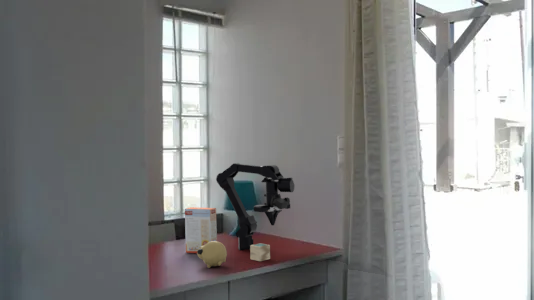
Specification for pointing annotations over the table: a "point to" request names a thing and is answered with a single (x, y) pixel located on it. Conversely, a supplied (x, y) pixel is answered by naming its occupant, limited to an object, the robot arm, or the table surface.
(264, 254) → the birch cube
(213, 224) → the cracker box
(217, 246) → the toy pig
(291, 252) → the table surface
